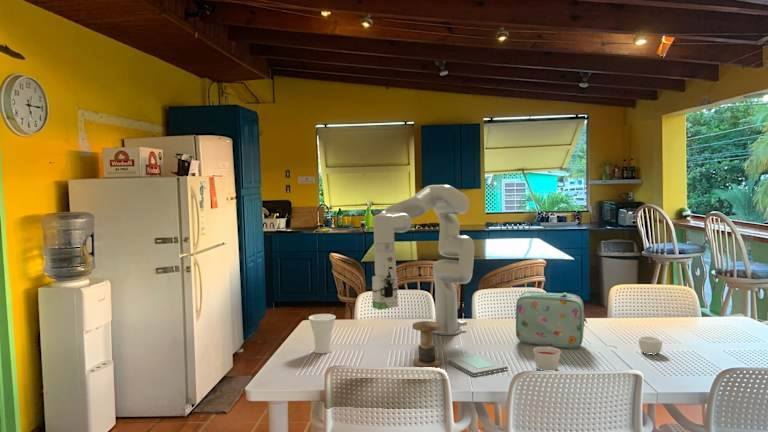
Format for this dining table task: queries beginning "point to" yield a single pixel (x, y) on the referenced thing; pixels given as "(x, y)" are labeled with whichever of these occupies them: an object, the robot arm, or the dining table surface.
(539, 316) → the lunch box
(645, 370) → the dining table surface
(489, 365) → the board
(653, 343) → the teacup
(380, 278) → the ink box
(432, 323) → the bobbin
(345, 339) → the dining table surface
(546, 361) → the candle
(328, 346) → the cup
